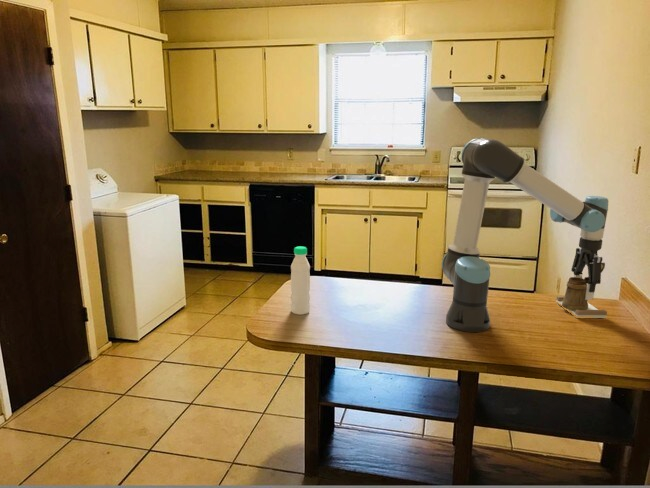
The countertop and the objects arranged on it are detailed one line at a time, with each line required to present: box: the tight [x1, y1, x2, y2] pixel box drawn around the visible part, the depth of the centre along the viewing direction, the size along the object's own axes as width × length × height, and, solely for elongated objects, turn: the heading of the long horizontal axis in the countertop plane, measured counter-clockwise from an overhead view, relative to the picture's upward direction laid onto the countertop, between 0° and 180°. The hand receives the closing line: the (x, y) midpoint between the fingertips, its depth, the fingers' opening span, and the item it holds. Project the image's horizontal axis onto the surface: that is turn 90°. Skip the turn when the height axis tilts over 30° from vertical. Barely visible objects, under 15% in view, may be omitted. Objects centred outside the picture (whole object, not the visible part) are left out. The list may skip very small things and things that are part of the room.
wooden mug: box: [562, 262, 606, 311], centre depth 187 cm, size 9×14×18 cm, turn 83°
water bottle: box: [290, 245, 311, 315], centre depth 181 cm, size 7×7×25 cm
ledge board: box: [555, 295, 608, 319], centre depth 190 cm, size 11×16×3 cm
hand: (582, 295), depth 188 cm, fingers open, 8 cm apart
